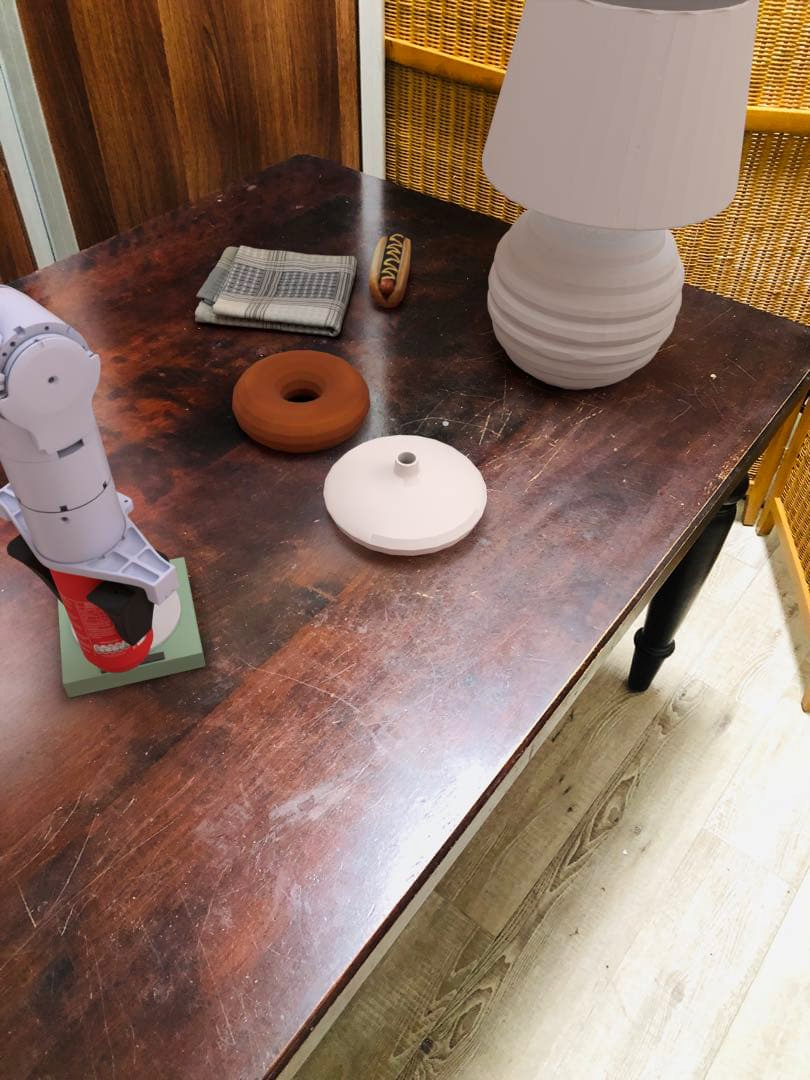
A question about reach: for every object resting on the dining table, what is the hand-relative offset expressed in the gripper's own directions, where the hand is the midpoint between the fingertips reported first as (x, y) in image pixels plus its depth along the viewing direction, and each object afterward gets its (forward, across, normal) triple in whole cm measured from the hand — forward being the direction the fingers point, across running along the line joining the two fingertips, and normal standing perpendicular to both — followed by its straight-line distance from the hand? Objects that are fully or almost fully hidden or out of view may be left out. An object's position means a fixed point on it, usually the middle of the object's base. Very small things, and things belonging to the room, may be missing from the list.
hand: (110, 618), depth 64 cm
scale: (+10, +5, -5) cm, 13 cm away
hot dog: (+11, +16, -64) cm, 67 cm away
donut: (+11, +10, -36) cm, 39 cm away
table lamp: (+11, -10, -62) cm, 64 cm away
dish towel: (+11, +27, -55) cm, 62 cm away
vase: (+11, -7, -30) cm, 33 cm away
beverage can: (+4, 0, 0) cm, 4 cm away
